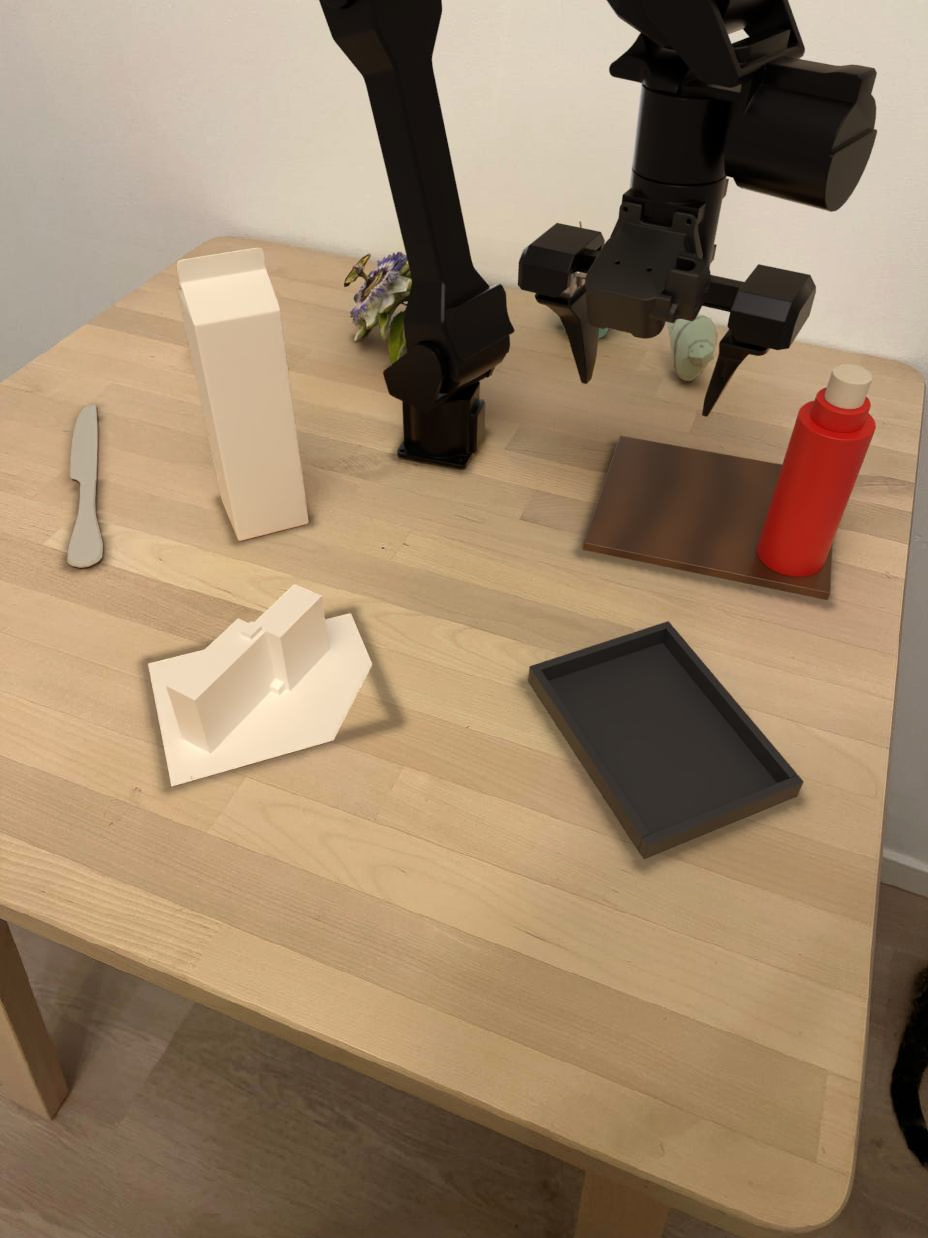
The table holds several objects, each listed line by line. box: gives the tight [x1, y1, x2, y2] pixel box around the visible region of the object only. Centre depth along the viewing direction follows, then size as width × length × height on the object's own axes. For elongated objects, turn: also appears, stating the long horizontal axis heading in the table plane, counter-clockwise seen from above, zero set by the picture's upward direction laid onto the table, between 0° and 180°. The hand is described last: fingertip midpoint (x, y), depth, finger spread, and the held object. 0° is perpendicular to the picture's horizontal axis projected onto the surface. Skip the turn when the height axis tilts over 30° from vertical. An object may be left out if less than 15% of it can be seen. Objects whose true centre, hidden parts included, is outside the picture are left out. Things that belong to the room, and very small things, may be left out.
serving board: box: [582, 435, 833, 601], centre depth 78 cm, size 19×16×1 cm
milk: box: [176, 247, 310, 542], centre depth 70 cm, size 6×6×22 cm
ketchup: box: [757, 363, 877, 577], centre depth 68 cm, size 5×5×16 cm
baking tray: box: [527, 620, 804, 860], centre depth 61 cm, size 15×11×2 cm
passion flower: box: [343, 251, 412, 365], centre depth 97 cm, size 11×11×12 cm
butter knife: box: [66, 403, 104, 569], centre depth 81 cm, size 1×24×3 cm
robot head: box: [666, 313, 718, 382], centre depth 92 cm, size 8×4×7 cm, turn 16°
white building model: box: [147, 583, 374, 787], centre depth 62 cm, size 15×11×6 cm
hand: (645, 397), depth 67 cm, fingers open, 9 cm apart
